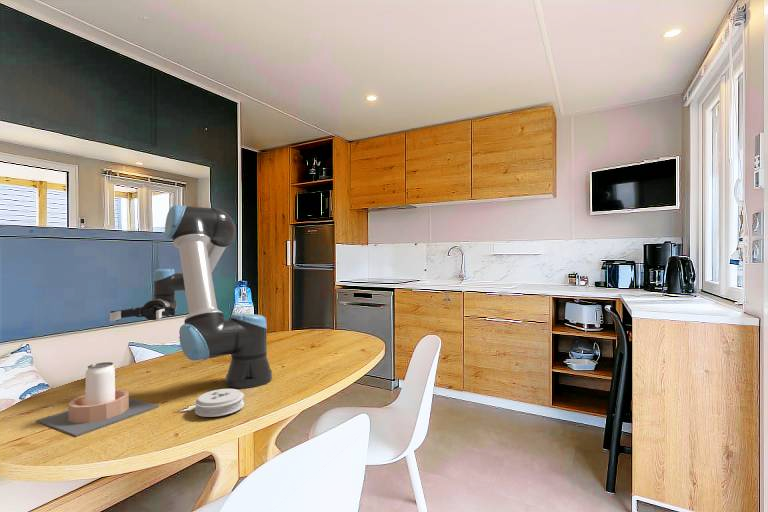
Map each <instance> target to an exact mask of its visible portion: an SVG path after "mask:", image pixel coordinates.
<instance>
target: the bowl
mask: <svg viewBox="0 0 768 512" xmlns="http://www.w3.org/2000/svg"><path fill="white" fill-rule="evenodd" d="M129 398H130V391H129V390H125V389H115V400H113V401H110V402H107V403H102V404H96V405H88V406H86V394H84V395H81V396H78V397H76V398H74V399H72V400H70V401H69V403H68V405H67V406H68V407H67V408H68V410H67V411H68V421H71V422H74V423H88V422H94V421H100V420H105V419H108V418H111V417H114V416H117V415H120V414H122V413H123V412H125V411H127V410H128V409H129Z"/></svg>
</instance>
